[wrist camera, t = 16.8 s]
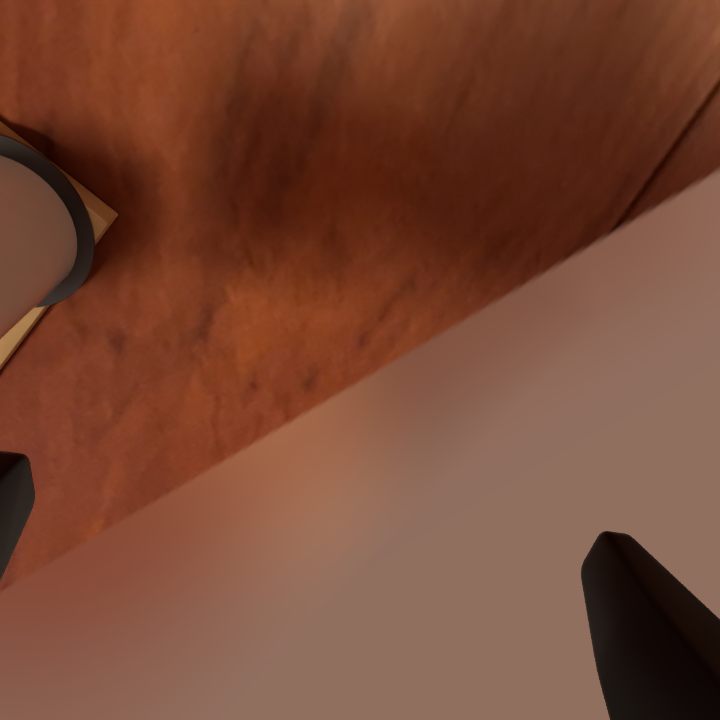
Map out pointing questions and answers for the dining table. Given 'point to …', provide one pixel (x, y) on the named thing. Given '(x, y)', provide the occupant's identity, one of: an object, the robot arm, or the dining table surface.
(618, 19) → the dining table surface
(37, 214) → the dome-capped cylinder
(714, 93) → the dining table surface
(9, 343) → the game board
